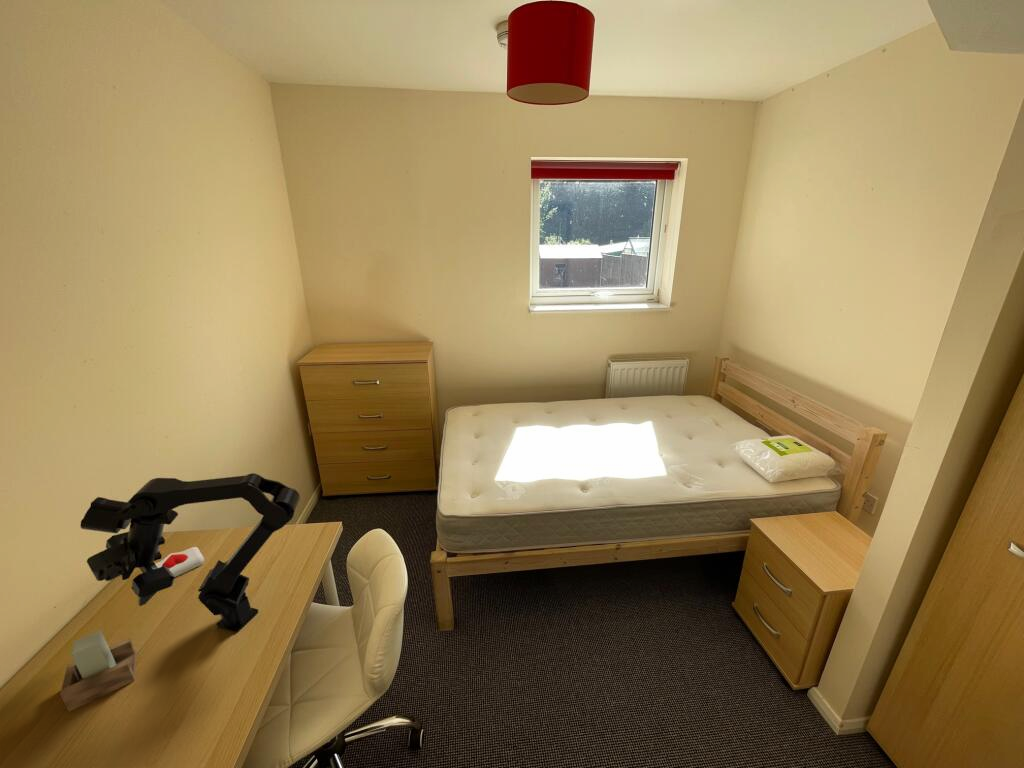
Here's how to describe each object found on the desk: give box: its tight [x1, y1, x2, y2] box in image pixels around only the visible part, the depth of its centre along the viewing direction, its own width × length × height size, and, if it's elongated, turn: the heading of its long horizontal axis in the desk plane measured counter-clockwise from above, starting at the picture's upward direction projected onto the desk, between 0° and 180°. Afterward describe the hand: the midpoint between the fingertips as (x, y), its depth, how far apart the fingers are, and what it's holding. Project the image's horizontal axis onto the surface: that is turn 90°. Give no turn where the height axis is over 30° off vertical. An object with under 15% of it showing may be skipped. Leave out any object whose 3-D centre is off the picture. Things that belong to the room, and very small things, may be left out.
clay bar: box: [70, 629, 116, 680], centre depth 88 cm, size 4×4×10 cm
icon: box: [155, 546, 205, 578], centre depth 121 cm, size 12×4×10 cm
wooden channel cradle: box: [59, 637, 137, 713], centre depth 89 cm, size 10×8×5 cm
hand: (133, 591), depth 95 cm, fingers open, 9 cm apart
